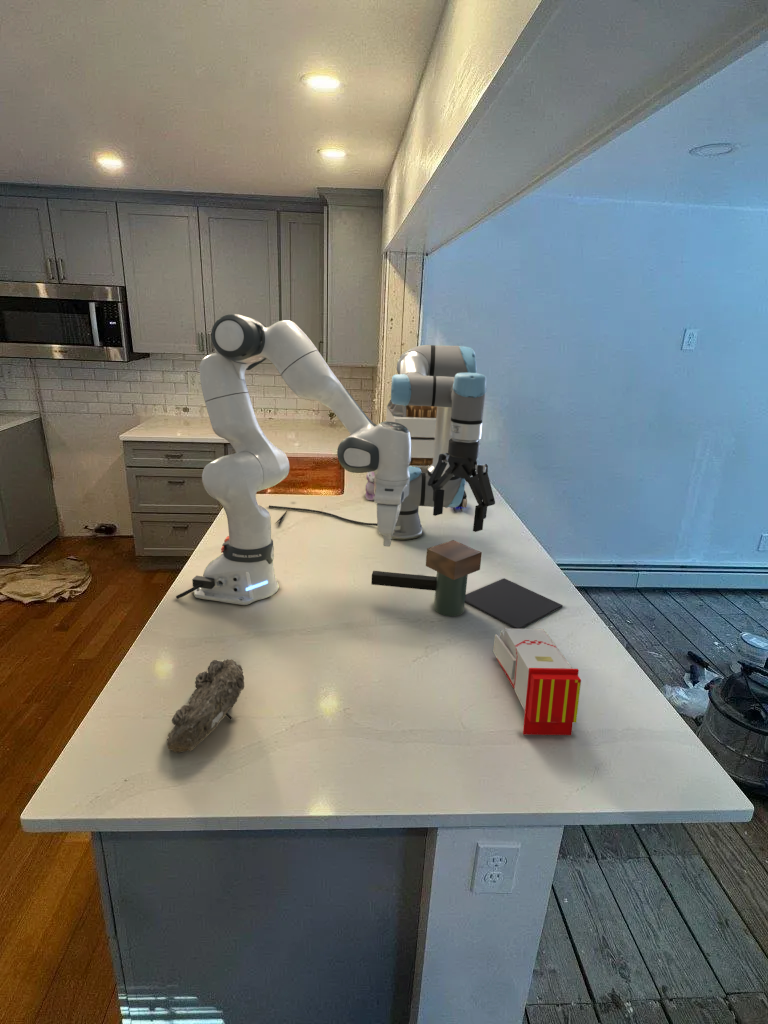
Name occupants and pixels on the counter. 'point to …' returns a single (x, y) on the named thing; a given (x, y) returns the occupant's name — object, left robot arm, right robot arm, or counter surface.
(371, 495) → the figurine
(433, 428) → the white wooden crate
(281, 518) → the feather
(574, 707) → the toy
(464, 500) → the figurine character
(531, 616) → the coaster
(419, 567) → the counter surface
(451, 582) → the green mallet
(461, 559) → the brown square block
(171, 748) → the fossil
